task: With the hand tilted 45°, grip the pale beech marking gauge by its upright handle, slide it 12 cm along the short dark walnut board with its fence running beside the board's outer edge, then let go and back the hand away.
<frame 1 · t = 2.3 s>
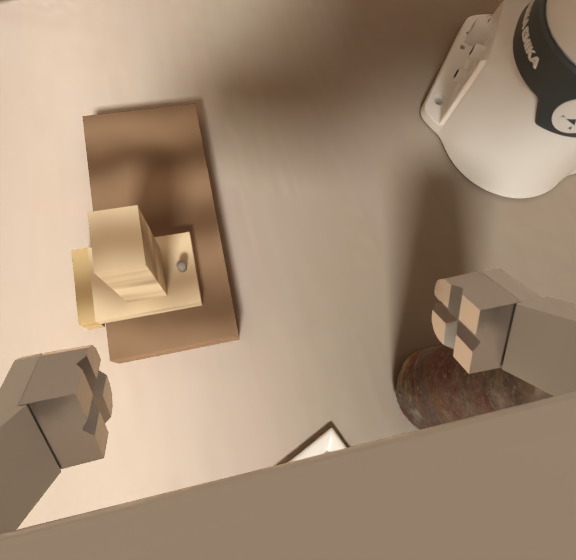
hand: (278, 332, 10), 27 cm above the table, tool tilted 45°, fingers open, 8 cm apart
gauge: (147, 279, 35), point 2 cm above the table, touching board
dessert: (315, 537, 35), on the table
candle: (430, 392, 38), on the table
board: (161, 231, 39), on the table
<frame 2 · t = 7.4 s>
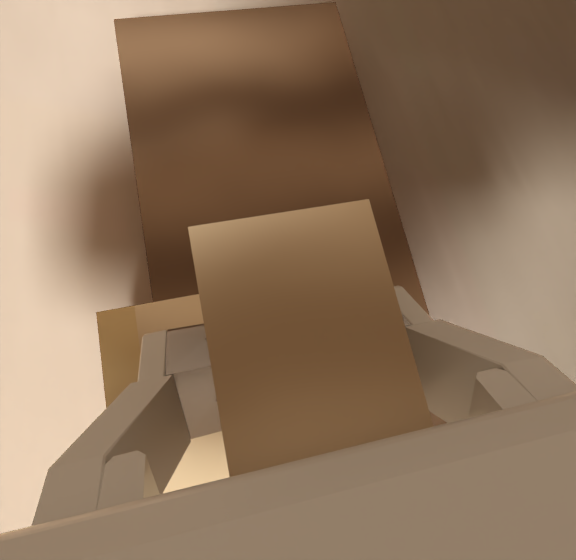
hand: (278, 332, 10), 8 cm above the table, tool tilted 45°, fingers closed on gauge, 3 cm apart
gauge: (269, 373, 15), point 2 cm above the table, touching board, gripper
board: (274, 257, 19), on the table
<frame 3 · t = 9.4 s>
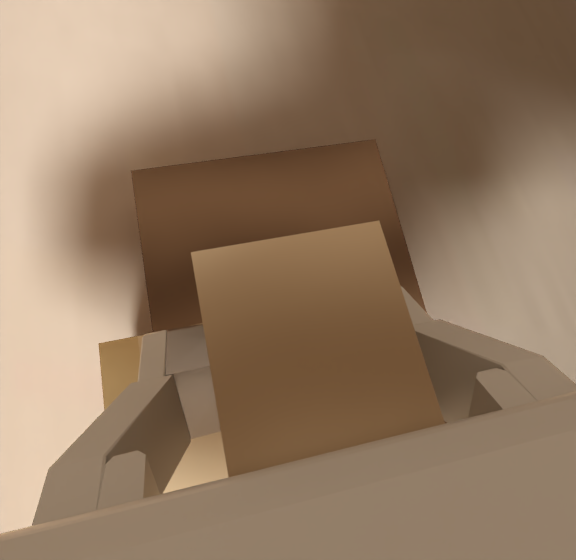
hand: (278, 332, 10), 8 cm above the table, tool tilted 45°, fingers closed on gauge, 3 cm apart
gauge: (276, 405, 15), point 3 cm above the table, touching gripper
board: (309, 431, 17), on the table
when the fingers open (8 cm above the table, at t = 10.8 s): gauge stays where it is, resting on board.
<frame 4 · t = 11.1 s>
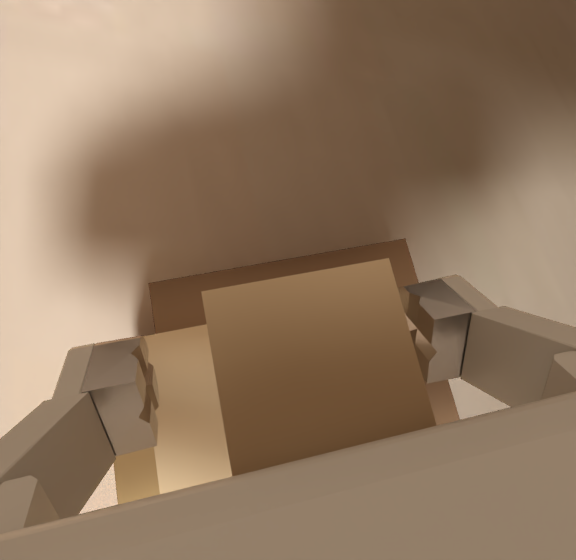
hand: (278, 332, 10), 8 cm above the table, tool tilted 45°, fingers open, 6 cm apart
gauge: (276, 404, 15), point 2 cm above the table, touching board
board: (338, 556, 16), on the table
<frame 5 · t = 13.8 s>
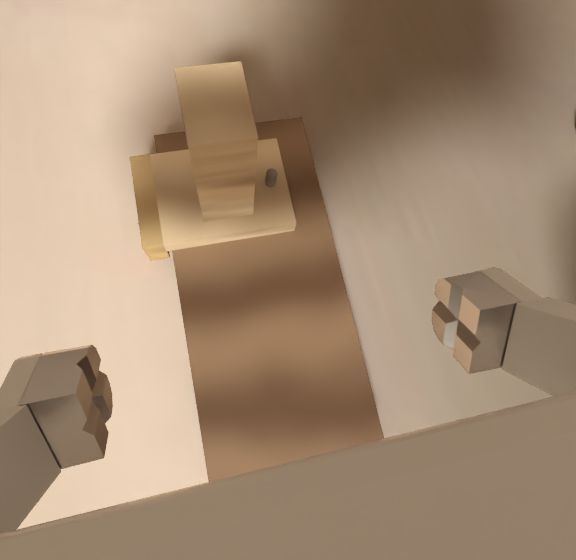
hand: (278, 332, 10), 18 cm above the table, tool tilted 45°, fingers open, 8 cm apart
gauge: (223, 197, 28), point 2 cm above the table, touching board
board: (260, 290, 29), on the table
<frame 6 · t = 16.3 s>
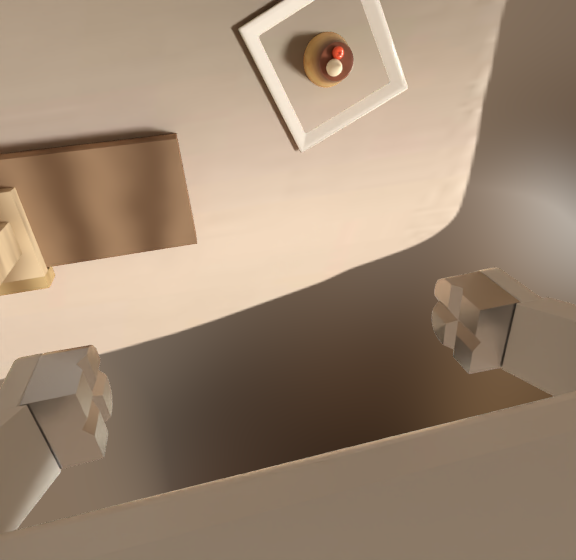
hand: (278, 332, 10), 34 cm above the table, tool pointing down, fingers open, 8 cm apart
dessert: (324, 59, 40), on the table
board: (67, 202, 40), on the table
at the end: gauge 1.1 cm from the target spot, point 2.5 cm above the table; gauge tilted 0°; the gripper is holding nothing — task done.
